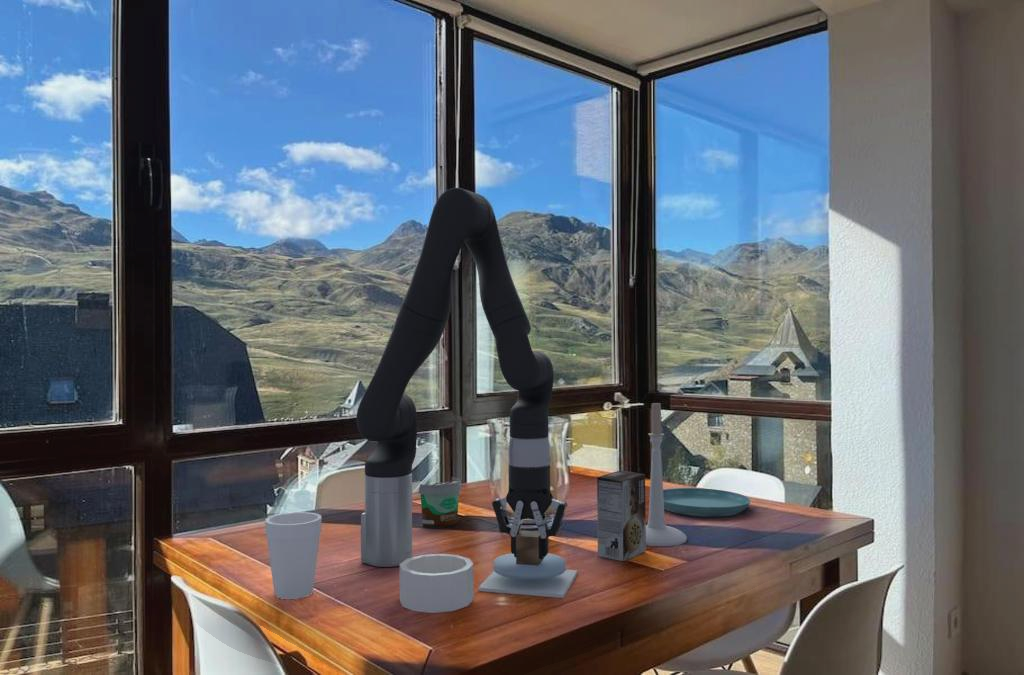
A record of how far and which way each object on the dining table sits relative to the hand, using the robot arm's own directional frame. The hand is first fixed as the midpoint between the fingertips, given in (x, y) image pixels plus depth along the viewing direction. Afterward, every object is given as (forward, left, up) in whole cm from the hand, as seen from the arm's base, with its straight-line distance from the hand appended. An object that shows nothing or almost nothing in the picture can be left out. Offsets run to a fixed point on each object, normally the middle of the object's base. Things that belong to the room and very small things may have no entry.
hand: (529, 556), depth 139 cm
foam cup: (-38, -16, -5) cm, 42 cm away
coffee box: (+14, +22, -5) cm, 26 cm away
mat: (0, 0, -5) cm, 5 cm away
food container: (-29, +37, -5) cm, 47 cm away
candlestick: (+20, +36, -5) cm, 41 cm away
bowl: (-13, -13, -5) cm, 19 cm away
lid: (0, 0, -2) cm, 2 cm away
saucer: (+29, +69, -5) cm, 75 cm away
